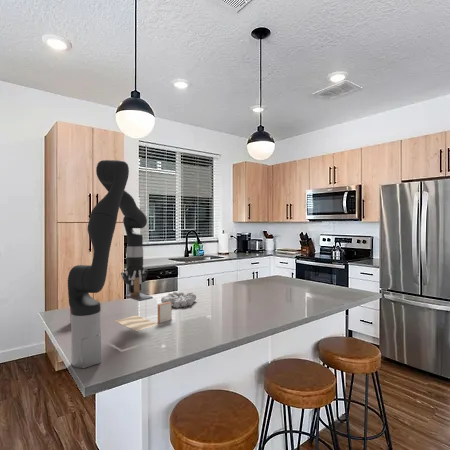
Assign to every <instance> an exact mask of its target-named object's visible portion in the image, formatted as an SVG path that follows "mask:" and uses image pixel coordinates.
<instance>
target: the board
mask: <svg viewBox="0 0 450 450" xmlns="http://www.w3.org/2000/svg"><path fill="white" fill-rule="evenodd" d="M114 322H115V323H116V324H120V325H122V326H123V327H127V328H129V329H131V330H133V331H134V332H135V331H136V332H139V331H141V330H146V329H150V328H153V327H156V326H159V325H160V323H158V322H157V323H156V322H154V321H152V320H149V319H147V318H144V317H142V316H140V315H133V316H129V317H124V318H120V319H117V320H114Z"/></svg>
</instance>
